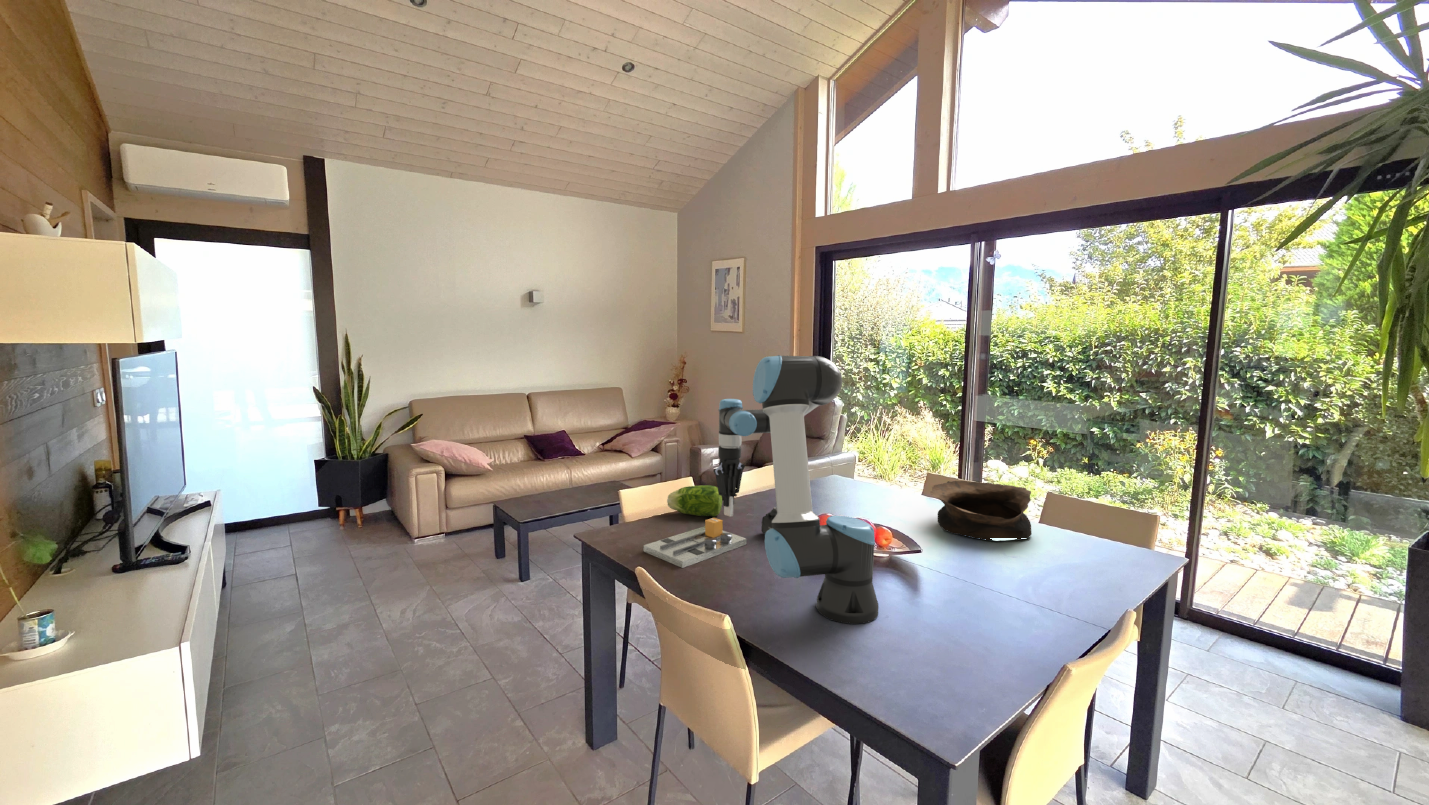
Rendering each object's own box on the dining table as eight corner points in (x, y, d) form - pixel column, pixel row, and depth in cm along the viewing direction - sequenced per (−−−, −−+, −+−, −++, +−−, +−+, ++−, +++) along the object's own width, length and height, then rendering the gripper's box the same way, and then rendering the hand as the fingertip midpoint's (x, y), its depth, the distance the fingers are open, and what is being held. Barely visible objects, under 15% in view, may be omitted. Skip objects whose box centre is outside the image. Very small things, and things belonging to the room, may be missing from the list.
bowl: (1052, 551, 199) (1056, 508, 196) (950, 555, 200) (952, 512, 196) (1003, 511, 233) (1006, 473, 230) (916, 514, 233) (917, 477, 230)
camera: (804, 536, 205) (805, 508, 204) (791, 545, 197) (792, 515, 196) (769, 529, 213) (770, 501, 212) (755, 537, 205) (756, 508, 203)
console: (746, 544, 197) (746, 531, 197) (682, 568, 177) (682, 553, 177) (707, 530, 210) (707, 518, 209) (643, 551, 190) (643, 537, 189)
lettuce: (669, 509, 234) (669, 480, 232) (722, 511, 232) (723, 482, 231) (664, 519, 222) (664, 488, 221) (721, 520, 221) (721, 490, 220)
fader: (722, 535, 199) (722, 519, 198) (713, 538, 196) (714, 522, 195) (713, 532, 202) (713, 516, 201) (705, 535, 199) (705, 519, 198)
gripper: (734, 441, 208) (733, 508, 211) (707, 446, 198) (706, 516, 202) (751, 445, 202) (749, 513, 206) (724, 450, 193) (723, 522, 196)
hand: (728, 515), depth 204 cm, fingers closed
